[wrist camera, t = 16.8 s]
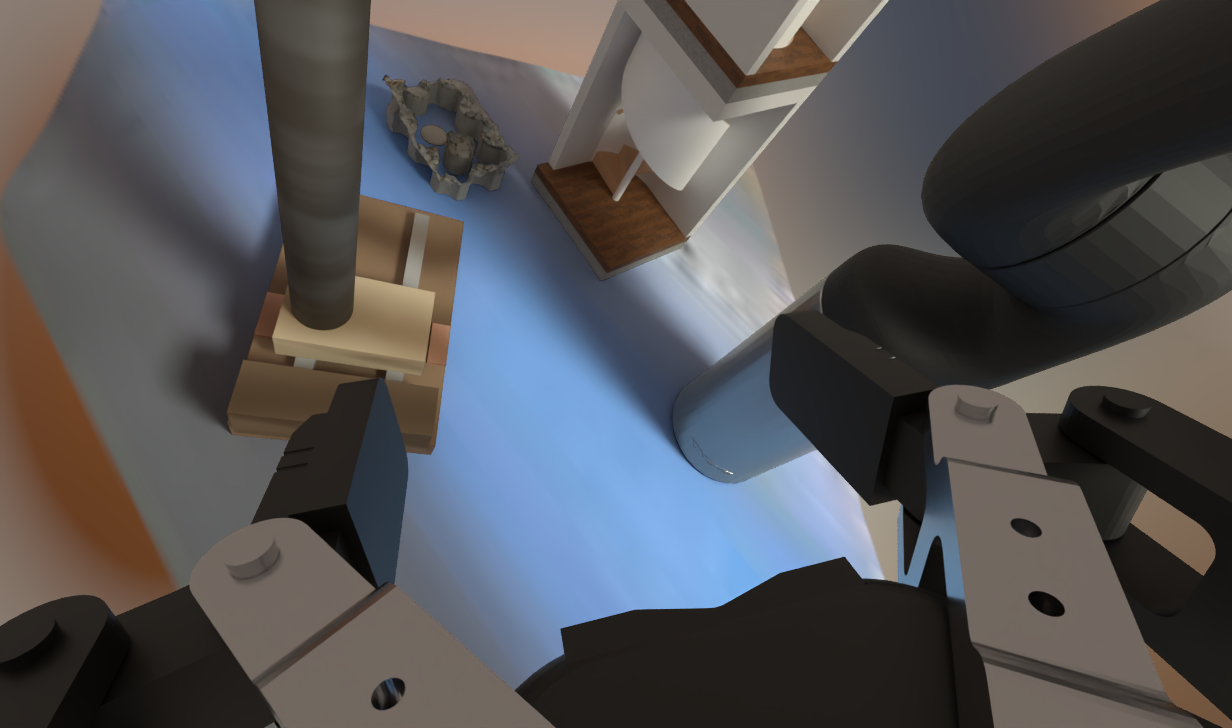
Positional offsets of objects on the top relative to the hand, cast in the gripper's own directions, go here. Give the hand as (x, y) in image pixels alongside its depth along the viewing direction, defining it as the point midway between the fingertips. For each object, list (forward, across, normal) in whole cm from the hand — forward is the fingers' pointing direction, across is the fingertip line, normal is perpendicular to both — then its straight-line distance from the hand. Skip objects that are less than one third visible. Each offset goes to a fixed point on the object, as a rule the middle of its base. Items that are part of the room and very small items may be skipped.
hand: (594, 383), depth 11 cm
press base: (+28, +11, +9) cm, 32 cm away
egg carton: (+44, +4, +1) cm, 44 cm away
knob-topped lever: (+25, +10, +8) cm, 28 cm away
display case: (+42, -10, +8) cm, 44 cm away
